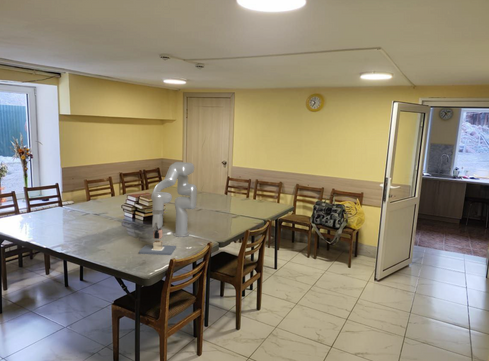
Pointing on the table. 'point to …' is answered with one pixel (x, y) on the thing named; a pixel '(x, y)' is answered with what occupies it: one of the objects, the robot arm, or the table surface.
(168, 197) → the robot arm
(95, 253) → the table surface
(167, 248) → the slate baseplate
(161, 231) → the terracotta cube
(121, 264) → the table surface
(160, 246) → the maple cube
